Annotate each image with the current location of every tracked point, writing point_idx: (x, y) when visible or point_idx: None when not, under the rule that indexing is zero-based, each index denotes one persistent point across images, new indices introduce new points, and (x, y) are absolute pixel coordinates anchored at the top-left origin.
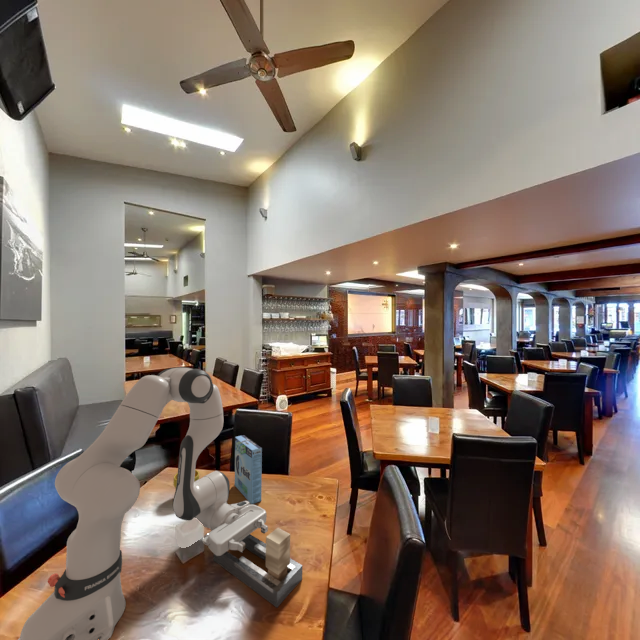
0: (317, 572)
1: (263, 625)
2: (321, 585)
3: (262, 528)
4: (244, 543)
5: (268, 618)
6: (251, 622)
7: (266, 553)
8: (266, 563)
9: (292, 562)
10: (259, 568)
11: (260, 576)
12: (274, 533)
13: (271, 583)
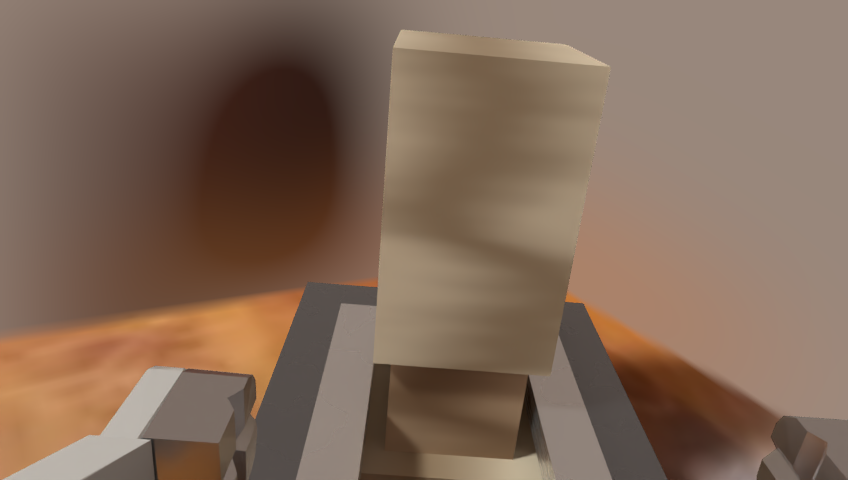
0: (212, 330)
1: (686, 390)
2: (295, 298)
3: (236, 427)
4: (803, 418)
5: (642, 390)
6: (747, 440)
7: (572, 246)
8: (553, 338)
9: (318, 324)
10: (564, 474)
11: (608, 423)
12: (501, 50)
13: (573, 343)
